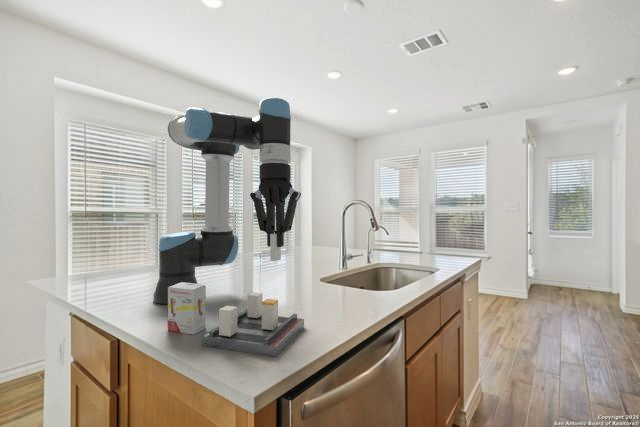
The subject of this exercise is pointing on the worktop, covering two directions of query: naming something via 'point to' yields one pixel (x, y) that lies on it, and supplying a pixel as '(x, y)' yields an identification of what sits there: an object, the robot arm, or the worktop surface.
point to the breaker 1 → (227, 321)
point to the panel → (256, 335)
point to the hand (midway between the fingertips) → (275, 260)
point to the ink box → (187, 308)
